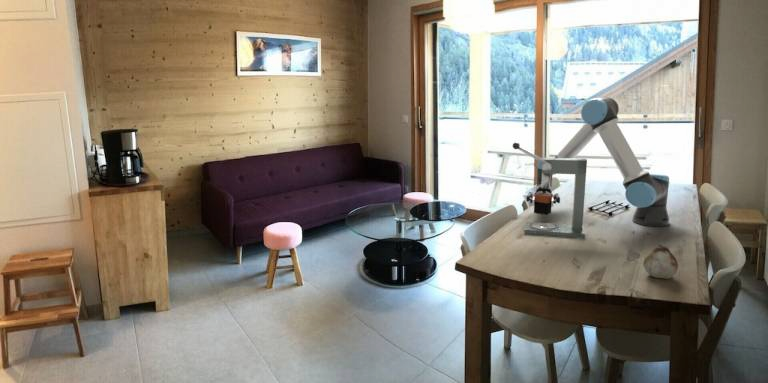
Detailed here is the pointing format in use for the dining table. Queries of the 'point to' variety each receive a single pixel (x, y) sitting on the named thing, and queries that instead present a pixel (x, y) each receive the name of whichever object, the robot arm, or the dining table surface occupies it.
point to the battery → (542, 203)
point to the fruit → (661, 263)
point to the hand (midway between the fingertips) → (542, 203)
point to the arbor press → (576, 228)
